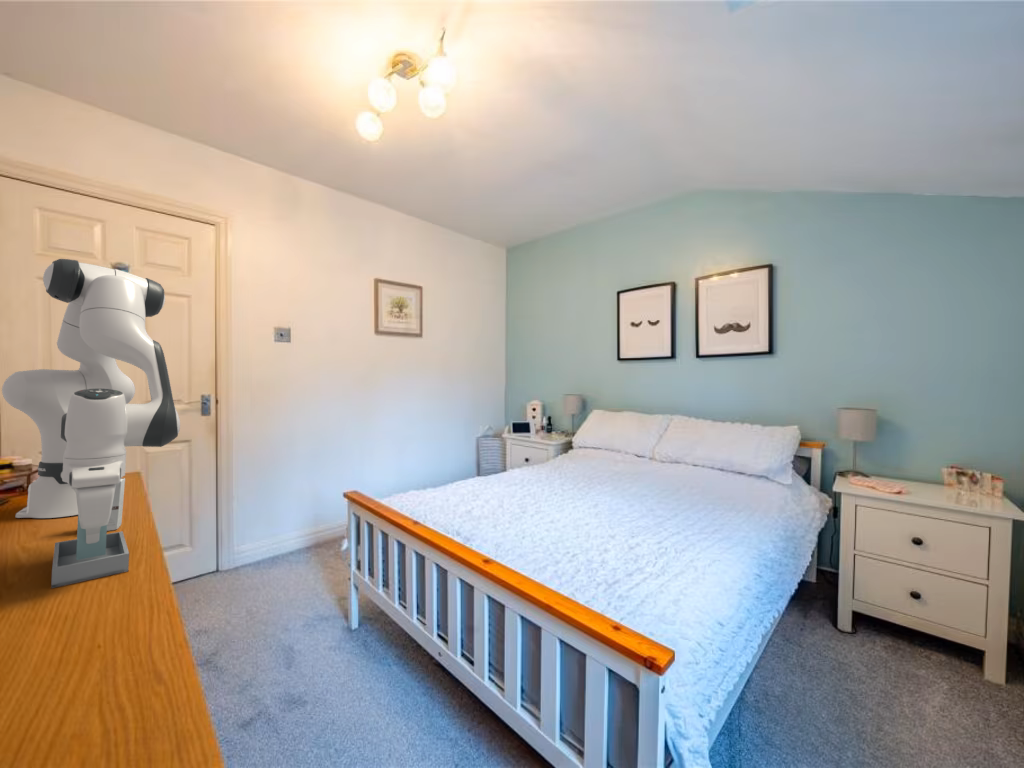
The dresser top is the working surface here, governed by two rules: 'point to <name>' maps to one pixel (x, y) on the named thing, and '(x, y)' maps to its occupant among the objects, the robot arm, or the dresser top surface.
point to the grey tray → (88, 561)
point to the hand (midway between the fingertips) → (91, 538)
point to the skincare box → (117, 507)
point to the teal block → (93, 548)
